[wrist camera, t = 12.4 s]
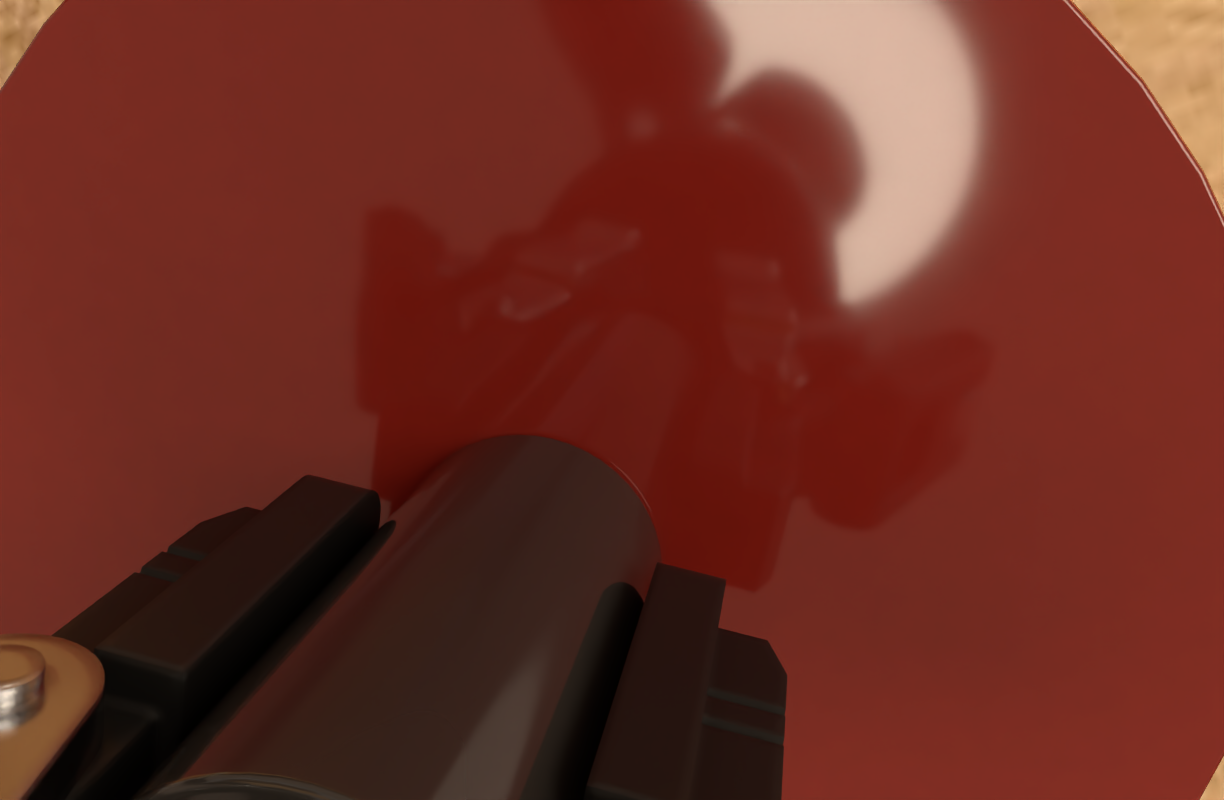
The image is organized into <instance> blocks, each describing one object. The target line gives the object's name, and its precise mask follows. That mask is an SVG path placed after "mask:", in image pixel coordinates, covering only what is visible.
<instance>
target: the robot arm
mask: <svg viewBox="0 0 1224 800" xmlns="http://www.w3.org/2000/svg"><path fill="white" fill-rule="evenodd" d="M380 513H381V504H380V498H379V495H378V493H377V492H376V491H374V490H369V489H365V488H361V487H357V486H353V485H349V484H345V483H341V482H337V481H333V480H329V479H325V478H321V477H317V476H313V475H305V476H304V477H302V478H301V479H299V480H298V481H297V482H296V483H294V484H293V485H292V486H291V487H290V488H288V489H287V490H286V491H285V492H283V493H282V494H281V495H280V496H279V497H277V498H276V499H275V500H274V501H273V502H271V503H270V504H269V505H268V506H266V507H265V508H264V509H263V510H258V509H254V508H250V507H243V508H240V509H237V510H235V511H232V512H229V513H226V514H223V515H220V516H217V517H214V518H211V519H209V520H206V521H203V522H200V523H199V524H198V525H196V526H195V527H194V528H192V529H191V530H190V531H188V532H187V533H186V534H184V535H183V536H182V537H180V538H179V539H178V540H176V541H175V542H174V543H172V544H171V545H170V546H169V547H168V550H167V552H161V553H159V554H158V555H157V556H155V557H154V558H153V559H151V560H150V561H149V562H147V563H146V564H145V565H144V566H142V569H141V571H140V573H136V572H134V573H133V574H132V575H130V576H129V577H128V578H126V579H125V580H124V581H122V582H121V583H120V584H118V585H117V586H116V587H115V588H113V589H112V590H111V591H109V592H108V593H107V594H105V595H104V596H103V597H101V598H100V599H99V600H97V601H96V602H95V603H93V604H92V605H91V606H89V607H88V608H87V609H86V610H84V611H83V612H82V613H80V614H79V615H78V616H76V617H75V618H74V619H72V620H71V621H70V622H68V623H67V624H66V625H64V626H63V627H62V628H61V629H59V630H58V631H57V632H55V633H54V634H53V635H51V636H50V635H42V634H25V633H15V634H2V635H0V800H128V799H129V798H130V797H131V796H132V795H133V794H134V793H135V791H136V790H137V789H138V788H139V787H140V786H141V785H142V784H143V783H144V782H145V781H146V780H147V779H148V777H149V776H150V775H151V774H152V773H153V772H154V771H155V770H156V769H157V768H158V767H159V766H160V765H161V763H162V762H163V761H164V760H165V759H166V758H167V757H168V756H169V755H170V754H171V753H172V752H173V750H174V749H175V748H176V747H177V746H178V745H179V744H180V743H181V742H182V741H183V740H184V739H185V738H186V736H187V735H188V734H189V733H190V732H191V731H192V730H193V729H194V728H195V727H196V726H197V725H198V724H199V722H200V721H201V720H202V719H203V718H204V717H205V716H206V715H207V714H208V713H209V712H210V711H211V709H212V708H213V707H214V706H215V705H216V704H217V703H218V702H219V701H220V700H221V699H222V698H223V697H224V695H225V694H226V693H227V692H228V691H229V690H230V689H231V688H232V687H233V686H234V685H235V684H236V682H237V681H238V680H239V679H240V678H241V677H242V676H243V675H244V674H245V673H246V672H247V671H248V670H249V668H250V667H251V666H252V665H253V664H254V663H255V662H256V661H257V660H258V659H259V658H260V657H261V656H262V654H263V653H264V652H265V651H266V650H267V649H268V648H269V647H270V646H271V645H272V644H273V643H274V641H275V640H276V639H277V638H278V637H279V636H280V635H281V634H282V633H283V632H284V631H285V630H286V629H287V627H288V626H289V625H290V624H291V623H292V622H293V621H294V620H295V619H296V618H297V617H298V616H299V615H300V613H301V612H302V611H303V610H304V609H305V608H306V607H307V606H308V605H309V604H310V603H311V602H312V600H313V599H314V598H315V597H316V596H317V595H318V594H319V593H320V592H321V591H322V590H323V589H324V588H325V586H326V585H327V584H328V583H329V582H330V581H331V580H332V579H333V578H334V577H335V576H336V575H337V573H338V572H339V571H340V570H341V569H342V568H343V567H344V566H345V565H346V564H347V563H348V562H349V561H350V559H351V558H352V557H353V556H354V555H355V554H356V553H357V552H358V551H359V550H360V549H361V548H362V547H363V545H364V544H365V543H366V542H367V541H368V540H369V539H370V538H371V537H372V536H373V535H374V534H375V532H376V531H377V530H378V529H379V524H380ZM725 586H726V579H723V578H719V577H715V576H711V575H707V574H703V573H699V572H695V571H691V570H687V569H683V568H679V567H675V566H671V565H667V564H663V563H659V562H657V564H656V567H655V570H654V573H653V576H652V579H651V583H650V586H649V589H648V592H647V595H646V598H645V601H644V605H643V608H642V611H641V614H640V617H639V620H638V624H637V627H636V630H635V633H634V636H633V639H632V643H631V646H630V649H629V652H628V655H627V658H626V662H625V665H624V668H623V671H622V674H621V677H620V680H619V684H618V687H617V690H616V693H615V696H614V699H613V703H612V706H611V709H610V712H609V715H608V718H607V722H606V725H605V728H604V731H603V734H602V737H601V741H600V744H599V747H598V750H597V753H596V756H595V759H594V763H593V766H592V769H591V772H590V775H589V778H588V782H587V785H586V789H585V794H584V799H583V800H781V798H782V777H783V756H784V746H783V742H784V735H785V716H784V715H785V710H786V694H787V673H786V672H785V670H784V668H783V666H782V665H781V663H780V661H779V659H778V657H777V656H776V654H775V652H774V650H773V649H772V647H771V645H770V643H769V642H768V640H764V639H761V638H757V637H753V636H749V635H745V634H741V633H737V632H733V631H729V630H725V629H721V628H718V626H719V620H720V614H721V609H722V603H723V597H724V591H725Z"/></svg>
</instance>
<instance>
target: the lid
mask: <svg viewBox="0 0 1224 800" xmlns="http://www.w3.org/2000/svg"><path fill="white" fill-rule="evenodd" d="M305 475H313V476H317V477H321V478H325V479H329V480H333V481H337V482H341V483H345V484H349V485H353V486H357V487H361V488H365V489H369V490H374V491H376V492H377V493H378V495H379V498H380V504H381V513H380V524H379V529H378V530H377V531H376V532H375V534H374V535H373V536H372V537H371V538H370V539H369V540H368V541H367V542H366V543H365V544H364V545H363V547H362V548H361V549H360V550H359V551H358V552H357V553H356V554H355V555H354V556H353V557H352V558H351V559H350V561H349V562H348V563H347V564H346V565H345V566H344V567H343V568H342V569H341V570H340V571H339V572H338V573H337V575H336V576H335V577H334V578H333V579H332V580H331V581H330V582H329V583H328V584H327V585H326V586H325V588H324V589H323V590H322V591H321V592H320V593H319V594H318V595H317V596H316V597H315V598H314V599H313V600H312V602H311V603H310V604H309V605H308V606H307V607H306V608H305V609H304V610H303V611H302V612H301V613H300V615H299V616H298V617H297V618H296V619H295V620H294V621H293V622H292V623H291V624H290V625H289V626H288V627H287V629H286V630H285V631H284V632H283V633H282V634H281V635H280V636H279V637H278V638H277V639H276V640H275V641H274V643H273V644H272V645H271V646H270V647H269V648H268V649H267V650H266V651H265V652H264V653H263V654H262V656H261V657H260V658H259V659H258V660H257V661H256V662H255V663H254V664H253V665H252V666H251V667H250V668H249V670H248V671H247V672H246V673H245V674H244V675H243V676H242V677H241V678H240V679H239V680H238V681H237V682H236V684H235V685H234V686H233V687H232V688H231V689H230V690H229V691H228V692H227V693H226V694H225V695H224V697H223V698H222V699H221V700H220V701H219V702H218V703H217V704H216V705H215V706H214V707H213V708H212V709H211V711H210V712H209V713H208V714H207V715H206V716H205V717H204V718H203V719H202V720H201V721H200V722H199V724H198V725H197V726H196V727H195V728H194V729H193V730H192V731H191V732H190V733H189V734H188V735H187V736H186V738H185V739H184V740H183V741H182V742H181V743H180V744H179V745H178V746H177V747H176V748H175V749H174V750H173V752H172V753H171V754H170V755H169V756H168V757H167V758H166V759H165V760H164V761H163V762H162V763H161V765H160V766H159V767H158V768H157V769H156V770H155V771H154V772H153V773H152V774H151V775H150V776H149V777H148V779H147V780H146V781H145V782H144V783H143V784H142V785H141V786H140V787H139V788H138V789H137V790H136V791H135V793H134V794H133V795H132V796H131V797H130V798H129V799H128V800H583V799H584V794H585V789H586V785H587V782H588V778H589V775H590V772H591V769H592V766H593V763H594V759H595V756H596V753H597V750H598V747H599V744H600V741H601V737H602V734H603V731H604V728H605V725H606V722H607V718H608V715H609V712H610V709H611V706H612V703H613V699H614V696H615V693H616V690H617V687H618V684H619V680H620V677H621V674H622V671H623V668H624V665H625V662H626V658H627V655H628V652H629V649H630V646H631V643H632V639H633V636H634V633H635V630H636V627H637V624H638V620H639V617H640V614H641V611H642V608H643V605H644V601H645V598H646V595H647V592H648V589H649V586H650V583H651V579H652V576H653V573H654V570H655V567H656V564H657V562H659V563H663V564H667V565H671V566H675V567H679V568H683V569H687V570H691V571H695V572H699V573H703V574H707V575H711V576H715V577H719V578H723V579H726V586H725V591H724V597H723V603H722V609H721V614H720V620H719V626H718V628H721V629H725V630H729V631H733V632H737V633H741V634H745V635H749V636H753V637H757V638H761V639H764V640H768V642H769V643H770V645H771V647H772V649H773V650H774V652H775V654H776V656H777V657H778V659H779V661H780V663H781V665H782V666H783V668H784V670H785V672H786V673H787V694H786V710H785V715H784V716H785V735H784V742H783V746H784V756H783V777H782V798H781V800H1200V798H1201V796H1202V794H1203V792H1204V791H1205V789H1206V787H1207V785H1208V783H1209V782H1210V780H1211V778H1212V776H1213V774H1214V772H1215V771H1216V769H1217V767H1218V765H1219V763H1220V762H1221V760H1222V758H1223V756H1224V214H1223V212H1222V210H1221V208H1220V205H1219V203H1218V201H1217V199H1216V197H1215V195H1214V192H1213V190H1212V188H1211V186H1210V184H1209V182H1208V179H1207V177H1206V175H1205V173H1204V171H1203V169H1202V168H1201V166H1200V165H1199V163H1198V162H1197V160H1196V159H1195V157H1194V156H1193V154H1192V153H1191V151H1190V150H1189V148H1188V147H1187V145H1186V144H1185V142H1184V141H1183V139H1182V138H1181V136H1180V135H1179V133H1178V132H1177V130H1176V129H1175V127H1174V125H1173V124H1172V122H1171V121H1170V119H1169V118H1168V116H1167V115H1166V113H1165V112H1164V110H1163V109H1162V107H1161V106H1160V104H1159V103H1158V101H1157V100H1156V98H1155V97H1154V95H1153V94H1152V92H1151V91H1150V89H1149V88H1148V86H1147V85H1146V83H1145V82H1144V80H1143V79H1142V78H1141V77H1140V76H1139V75H1138V73H1137V72H1136V71H1135V70H1134V69H1133V68H1132V67H1131V66H1130V65H1129V63H1128V62H1127V61H1126V60H1125V59H1124V58H1123V57H1122V56H1121V55H1120V54H1119V52H1118V51H1117V50H1116V49H1115V48H1114V47H1113V46H1112V45H1111V44H1110V42H1109V41H1108V40H1107V39H1106V38H1105V37H1104V36H1103V35H1102V34H1101V33H1100V31H1099V30H1098V29H1097V28H1096V27H1095V26H1094V25H1093V24H1092V23H1091V21H1090V20H1089V19H1088V18H1087V17H1086V16H1085V15H1084V14H1083V13H1082V12H1081V10H1080V9H1079V8H1078V7H1077V6H1076V5H1075V4H1074V3H1073V2H1072V0H64V2H63V3H62V4H61V5H60V6H59V7H58V8H57V9H56V11H55V12H54V13H53V14H52V15H51V16H50V17H49V18H48V19H47V21H46V22H45V23H44V24H43V26H42V27H41V29H40V30H39V32H38V33H37V35H36V36H35V38H34V39H33V41H32V42H31V44H30V45H29V47H28V48H27V50H26V52H25V53H24V55H23V56H22V58H21V59H20V61H19V62H18V64H17V65H16V67H15V68H14V70H13V71H12V73H11V74H10V76H9V78H8V79H7V81H6V82H5V84H4V85H3V87H2V88H1V90H0V635H2V634H15V633H25V634H42V635H50V636H51V635H53V634H54V633H55V632H57V631H58V630H59V629H61V628H62V627H63V626H64V625H66V624H67V623H68V622H70V621H71V620H72V619H74V618H75V617H76V616H78V615H79V614H80V613H82V612H83V611H84V610H86V609H87V608H88V607H89V606H91V605H92V604H93V603H95V602H96V601H97V600H99V599H100V598H101V597H103V596H104V595H105V594H107V593H108V592H109V591H111V590H112V589H113V588H115V587H116V586H117V585H118V584H120V583H121V582H122V581H124V580H125V579H126V578H128V577H129V576H130V575H132V574H133V573H134V572H136V573H140V571H141V569H142V566H144V565H145V564H146V563H147V562H149V561H150V560H151V559H153V558H154V557H155V556H157V555H158V554H159V553H161V552H167V550H168V547H169V546H170V545H171V544H172V543H174V542H175V541H176V540H178V539H179V538H180V537H182V536H183V535H184V534H186V533H187V532H188V531H190V530H191V529H192V528H194V527H195V526H196V525H198V524H199V523H200V522H203V521H206V520H209V519H211V518H214V517H217V516H220V515H223V514H226V513H229V512H232V511H235V510H237V509H240V508H243V507H250V508H254V509H258V510H263V509H264V508H265V507H266V506H268V505H269V504H270V503H271V502H273V501H274V500H275V499H276V498H277V497H279V496H280V495H281V494H282V493H283V492H285V491H286V490H287V489H288V488H290V487H291V486H292V485H293V484H294V483H296V482H297V481H298V480H299V479H301V478H302V477H304V476H305Z"/></svg>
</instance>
